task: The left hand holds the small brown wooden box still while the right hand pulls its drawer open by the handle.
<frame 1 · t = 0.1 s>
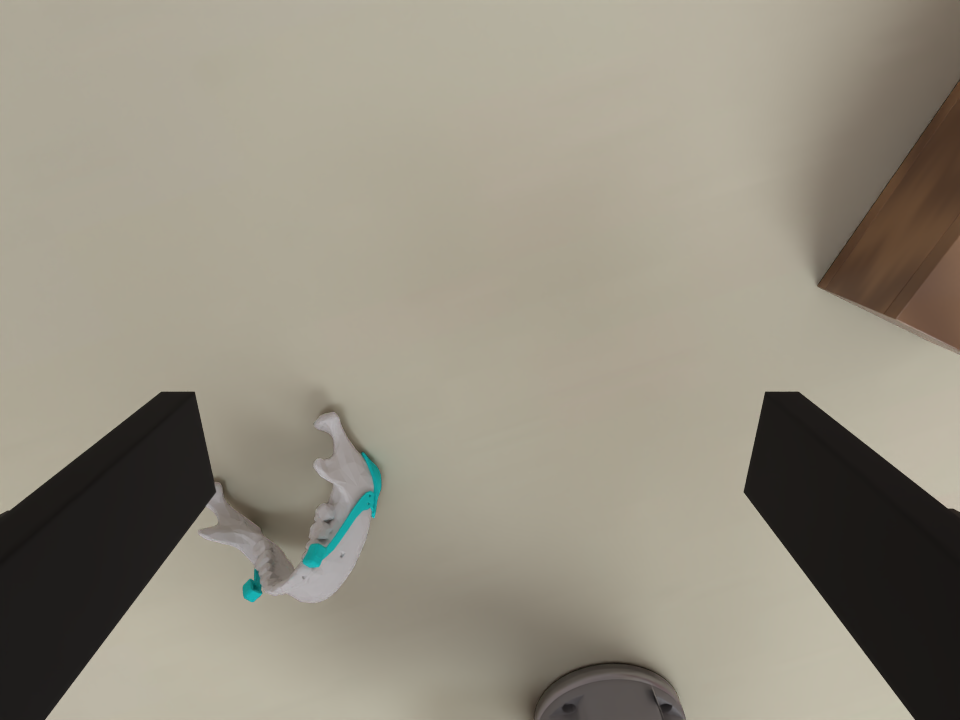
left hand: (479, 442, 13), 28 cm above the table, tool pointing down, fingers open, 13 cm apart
anatomical model: (308, 490, 47), on the table
wooden box: (957, 201, 38), on the table
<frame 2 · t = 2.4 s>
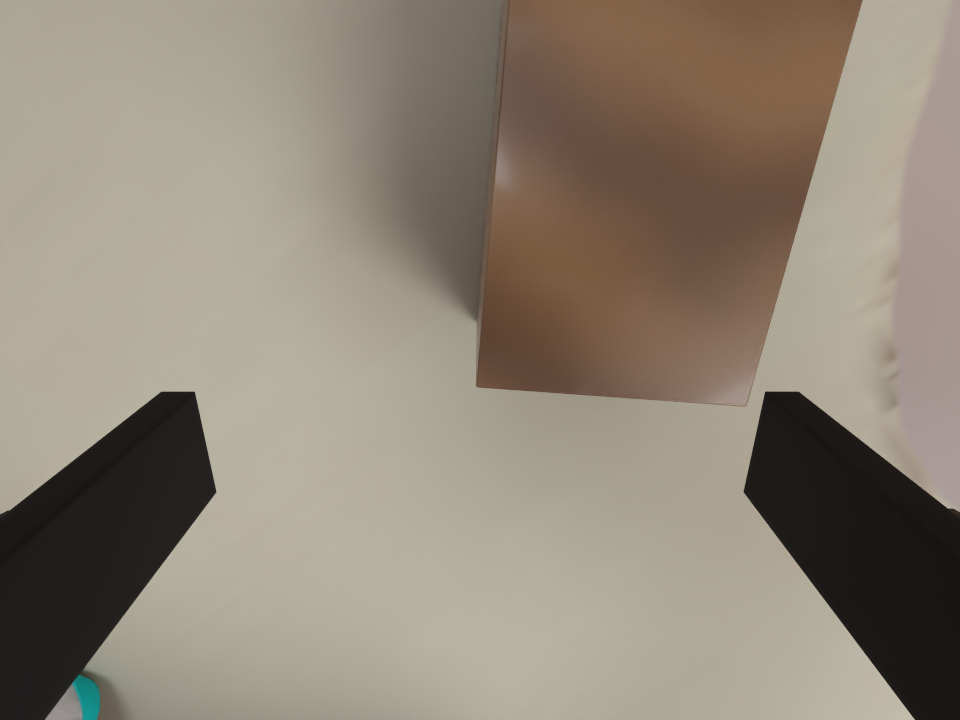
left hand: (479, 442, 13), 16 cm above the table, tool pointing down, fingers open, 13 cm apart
wooden box: (604, 149, 25), on the table
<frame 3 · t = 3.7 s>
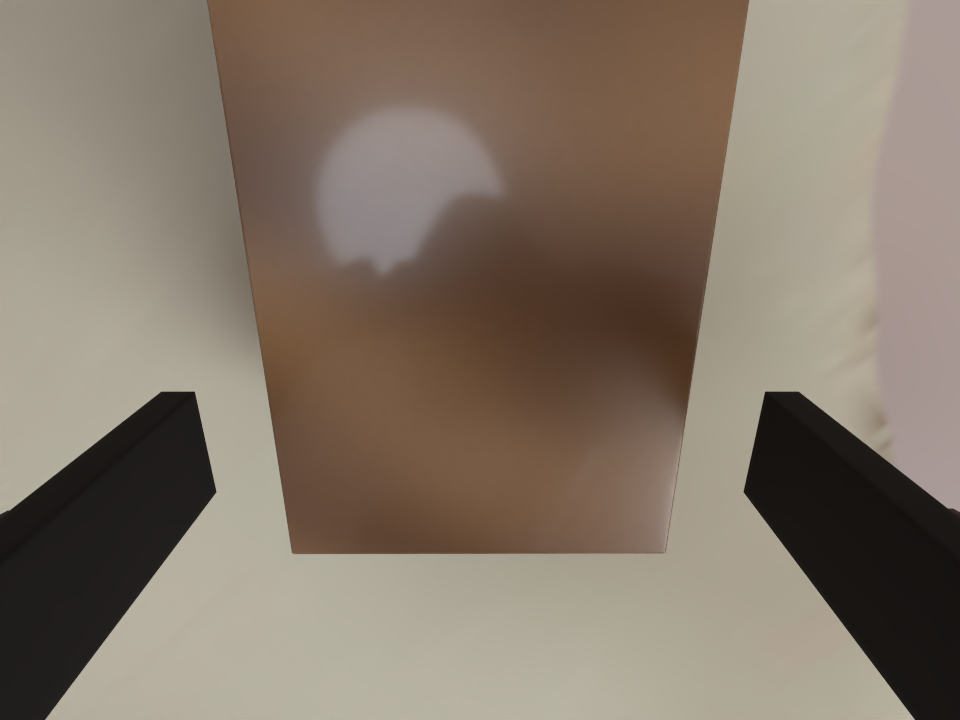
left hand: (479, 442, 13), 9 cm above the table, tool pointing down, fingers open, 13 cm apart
wooden box: (478, 200, 20), on the table
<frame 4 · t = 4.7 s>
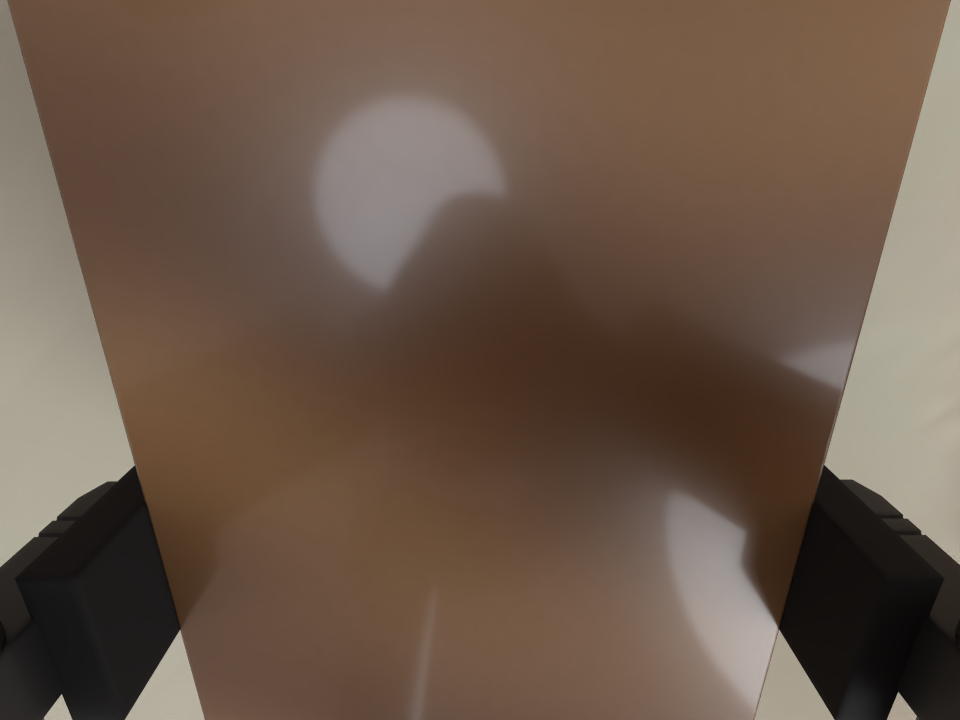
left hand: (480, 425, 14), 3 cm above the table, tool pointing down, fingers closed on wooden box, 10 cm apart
wooden box: (479, 203, 15), on the table, touching left hand
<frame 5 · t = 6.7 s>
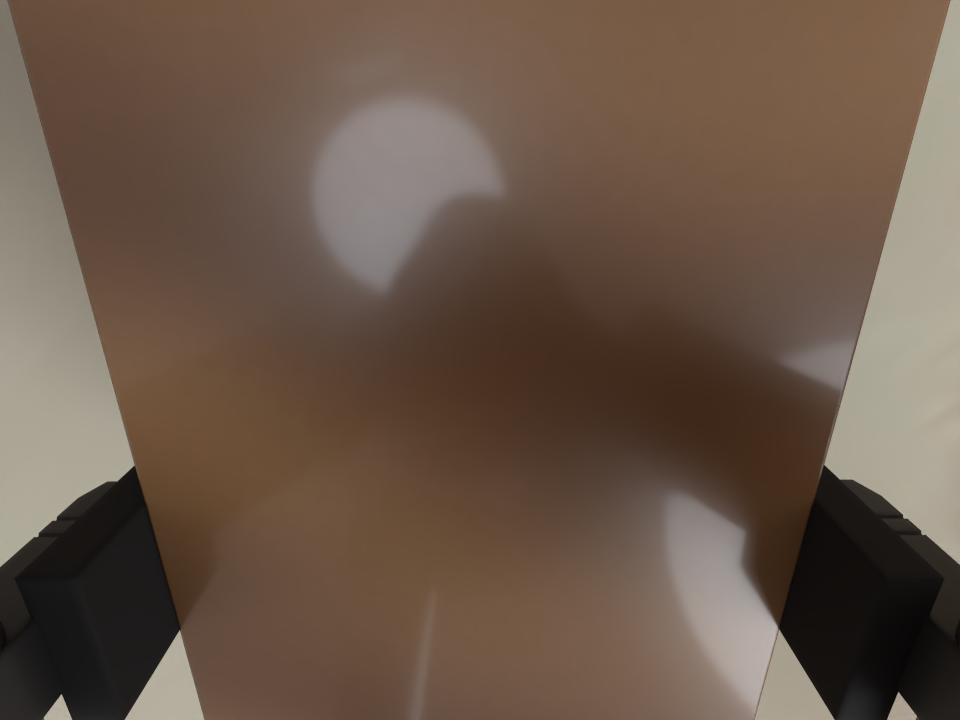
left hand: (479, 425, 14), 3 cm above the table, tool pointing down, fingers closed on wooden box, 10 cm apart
wooden box: (479, 203, 15), on the table, touching left hand
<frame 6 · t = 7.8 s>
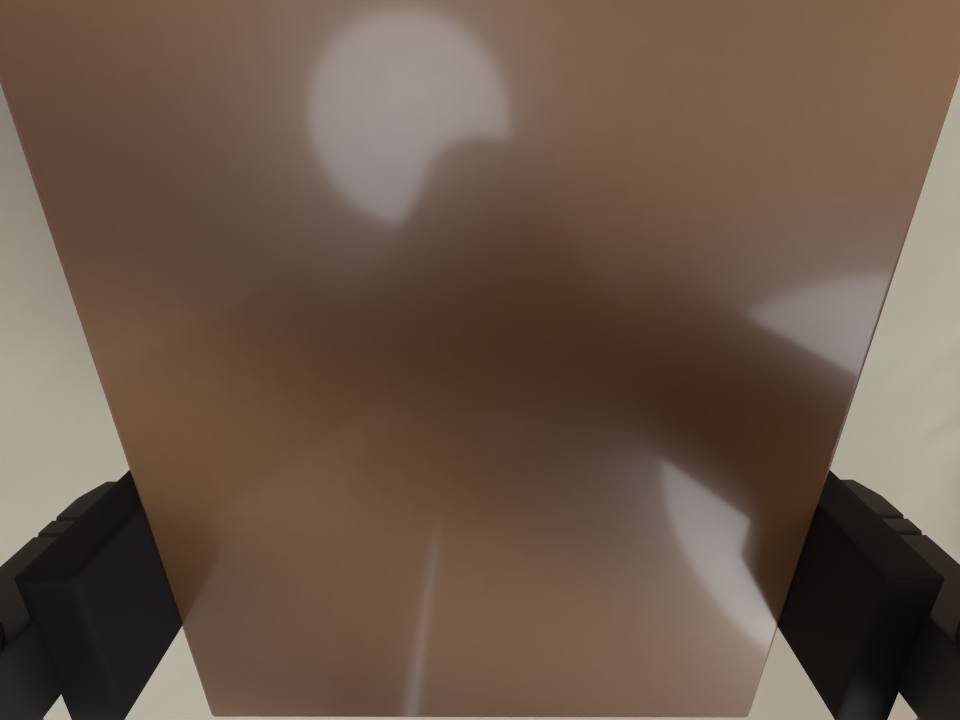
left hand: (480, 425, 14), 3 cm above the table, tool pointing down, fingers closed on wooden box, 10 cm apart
wooden box: (479, 188, 14), point 1 cm above the table, touching left hand
when the left hand's fingers open (3 cm above the table, at t = 9.2 s): wooden box stays where it is, on the table.
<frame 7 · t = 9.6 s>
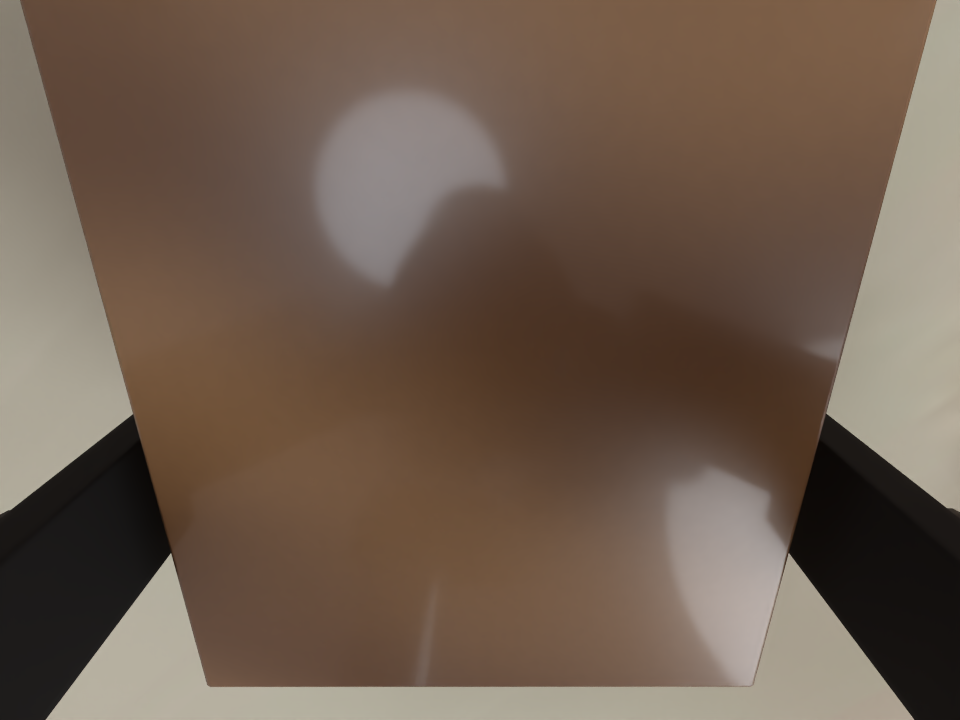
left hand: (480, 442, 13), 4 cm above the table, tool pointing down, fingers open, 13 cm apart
wooden box: (479, 173, 15), on the table
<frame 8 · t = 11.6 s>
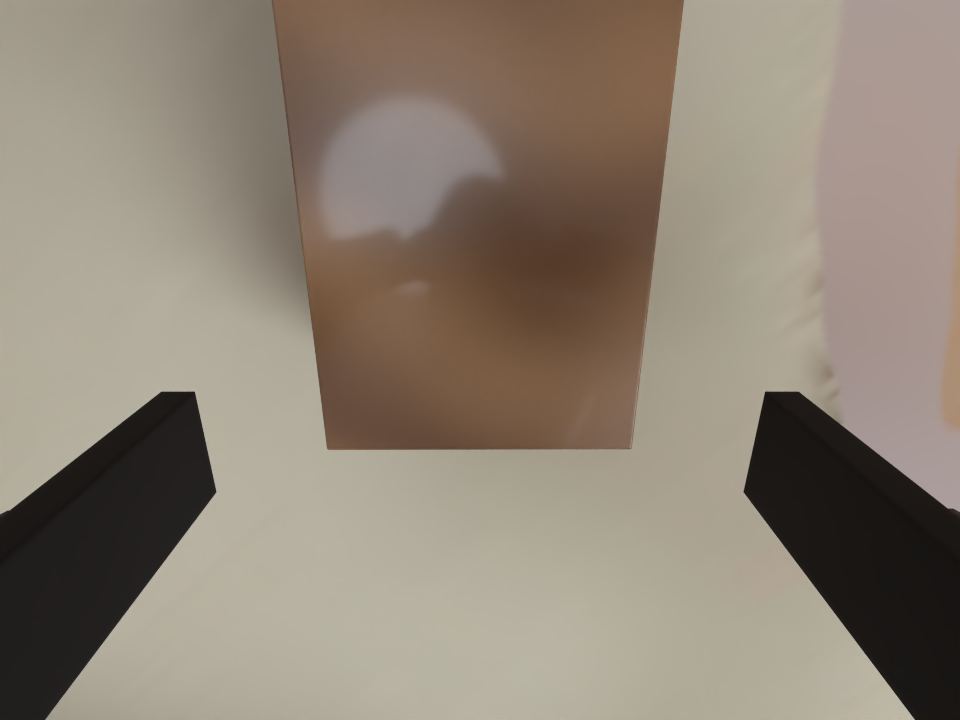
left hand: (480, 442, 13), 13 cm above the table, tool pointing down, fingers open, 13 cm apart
wooden box: (478, 166, 23), on the table
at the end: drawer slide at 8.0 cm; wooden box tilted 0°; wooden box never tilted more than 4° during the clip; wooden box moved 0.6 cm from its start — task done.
